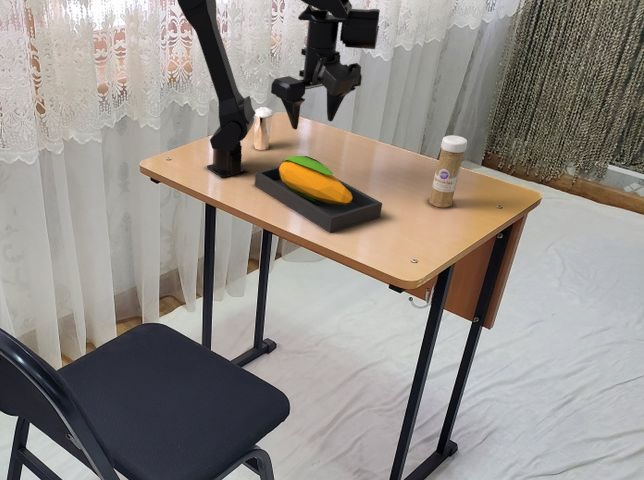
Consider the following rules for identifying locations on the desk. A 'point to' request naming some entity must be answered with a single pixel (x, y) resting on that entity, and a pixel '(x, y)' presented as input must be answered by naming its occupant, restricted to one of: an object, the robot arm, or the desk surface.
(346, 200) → the corn
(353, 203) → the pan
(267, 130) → the milkshake
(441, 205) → the sprinkles bottle
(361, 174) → the desk surface
